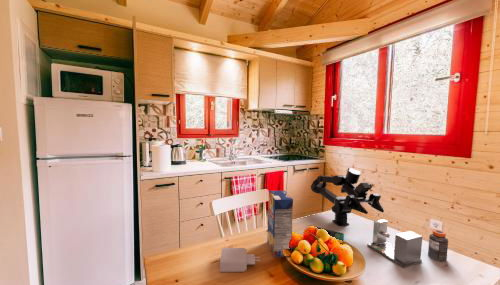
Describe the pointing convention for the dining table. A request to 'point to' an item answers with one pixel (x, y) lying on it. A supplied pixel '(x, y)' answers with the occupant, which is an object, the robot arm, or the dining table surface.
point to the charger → (235, 260)
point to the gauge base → (401, 249)
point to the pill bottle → (438, 245)
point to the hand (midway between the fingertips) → (375, 212)
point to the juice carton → (279, 222)
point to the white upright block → (380, 232)
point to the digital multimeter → (335, 234)
